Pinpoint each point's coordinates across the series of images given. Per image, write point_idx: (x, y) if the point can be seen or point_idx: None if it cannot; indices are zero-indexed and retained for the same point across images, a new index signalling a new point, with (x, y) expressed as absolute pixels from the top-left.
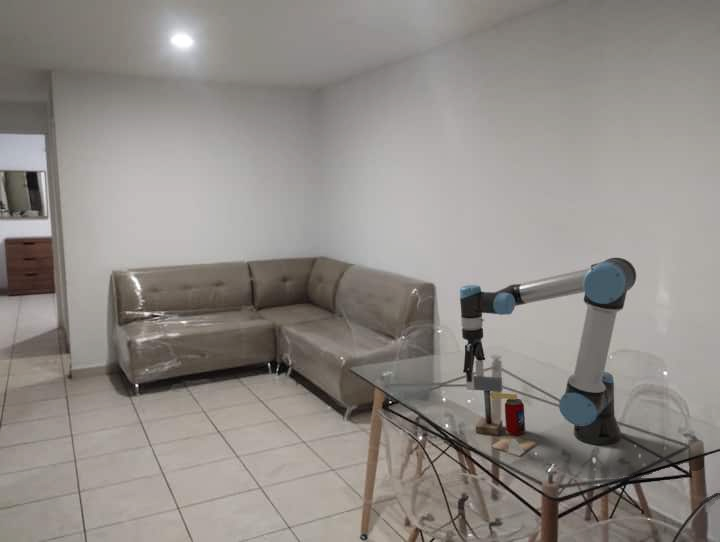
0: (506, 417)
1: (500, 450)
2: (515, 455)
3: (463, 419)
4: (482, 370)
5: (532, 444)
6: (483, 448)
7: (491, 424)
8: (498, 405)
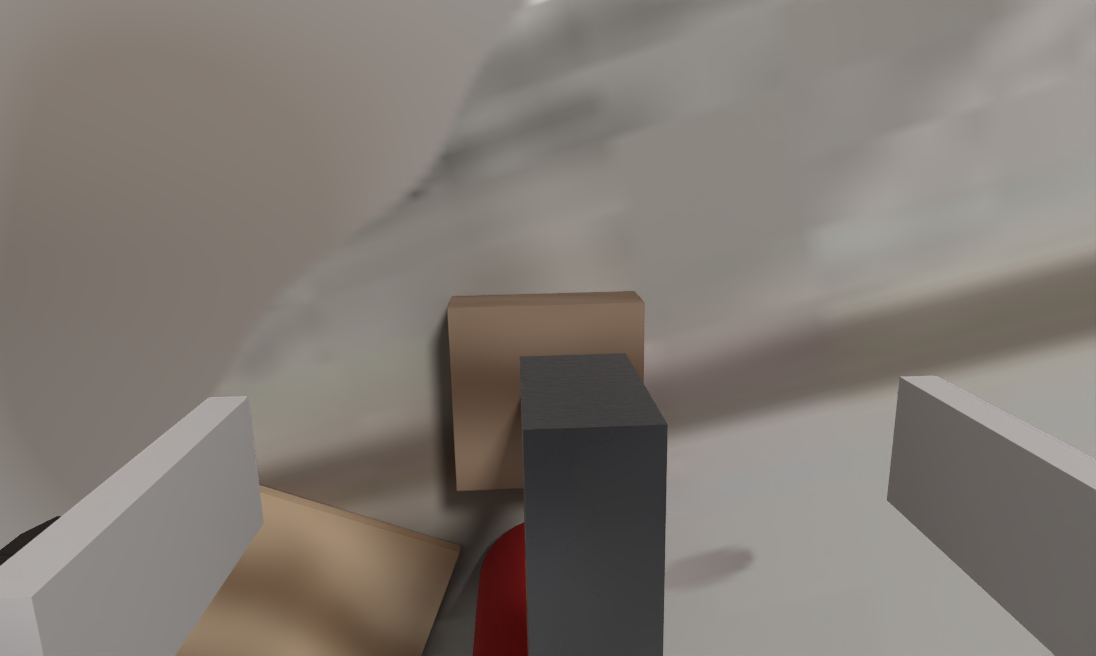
0: (500, 606)
1: None
2: None
3: (701, 107)
4: (972, 568)
5: None
6: None
7: None
8: (1060, 327)
